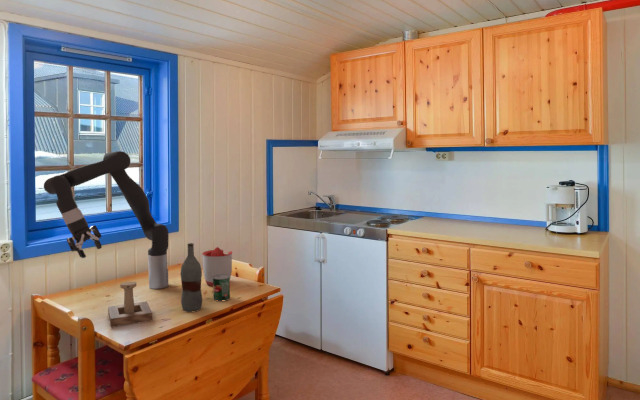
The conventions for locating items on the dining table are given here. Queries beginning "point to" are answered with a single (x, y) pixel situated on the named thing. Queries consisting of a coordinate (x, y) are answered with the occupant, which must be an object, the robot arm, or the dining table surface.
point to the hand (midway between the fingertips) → (92, 253)
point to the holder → (129, 314)
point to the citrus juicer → (216, 264)
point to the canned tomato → (221, 287)
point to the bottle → (191, 282)
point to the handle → (128, 296)
